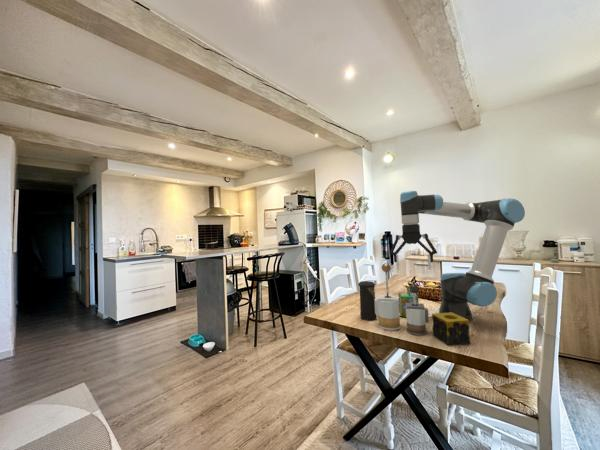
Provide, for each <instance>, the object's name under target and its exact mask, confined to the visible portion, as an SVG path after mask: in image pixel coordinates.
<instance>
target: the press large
mask: <svg viewBox="0 0 600 450" xmlns="http://www.w3.org/2000/svg"><path fill="white" fill-rule="evenodd" d="M374 301H375V314H376V315H377V316H378V317H377V319H378V325H377V326H378V327H379V328H380V329H382V330H386V331H398V330H400V329H401V328H402V327H401V319H400V318H401V317H400V316H401V315H400V313H399V297H398V295H393V294H392V295H390V294H389V298H387V294H378V296H377V298H375V300H374Z"/></svg>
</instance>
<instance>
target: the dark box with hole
mask: <svg viewBox="0 0 600 450" xmlns="http://www.w3.org/2000/svg"><path fill="white" fill-rule="evenodd" d="M431 317H432V322H433V324H432V336H433V337H434V338H435V339H437V340H438V341H440V342H442V343H443V344H445V345H447V346H460V345H469V344H471V337H470V321H469V320H468V319H465V318H463V317H461V316H459V315H457V314H455V313H453V312H450V313H439V312H438V313H437V312H436V313H435V312H434V313H432V314H431Z"/></svg>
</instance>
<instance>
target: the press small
mask: <svg viewBox="0 0 600 450" xmlns="http://www.w3.org/2000/svg"><path fill="white" fill-rule="evenodd" d="M405 318H406V333H408V334H410V335H413V336H418V337H421V336H426V335H427V327H426V326H427V324H429V320H430V319H429V309H428V308H427V307H425V305H424V303H416V306H414V303H406V317H405Z"/></svg>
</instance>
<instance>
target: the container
mask: <svg viewBox="0 0 600 450" xmlns="http://www.w3.org/2000/svg"><path fill="white" fill-rule="evenodd" d="M357 285H358V287H359V308H360V311H359V312H360V315H359V316H360V319H361V320H363V321H375V320H377V319H378V317H377V316H378V315H377V314H375V301H374V300H375V299H376V292H375V285H376V284H375V282H373V281H370V280H365V281H364V280H363V281H360V282H358V284H357Z"/></svg>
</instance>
